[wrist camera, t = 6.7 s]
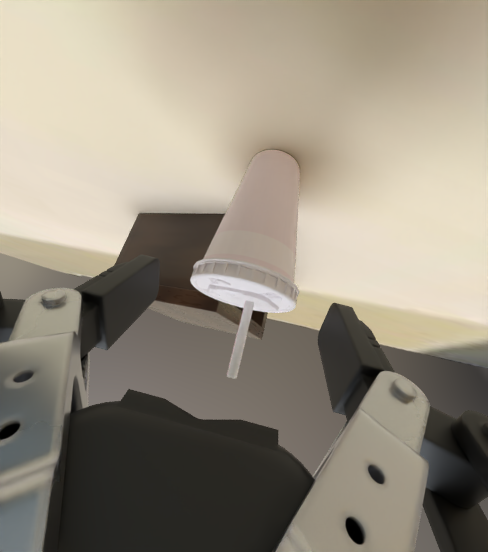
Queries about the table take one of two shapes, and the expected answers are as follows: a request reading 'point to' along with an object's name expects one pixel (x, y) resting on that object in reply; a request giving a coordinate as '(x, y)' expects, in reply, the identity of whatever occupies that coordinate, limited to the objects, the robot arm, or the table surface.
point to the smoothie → (255, 245)
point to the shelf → (185, 269)
